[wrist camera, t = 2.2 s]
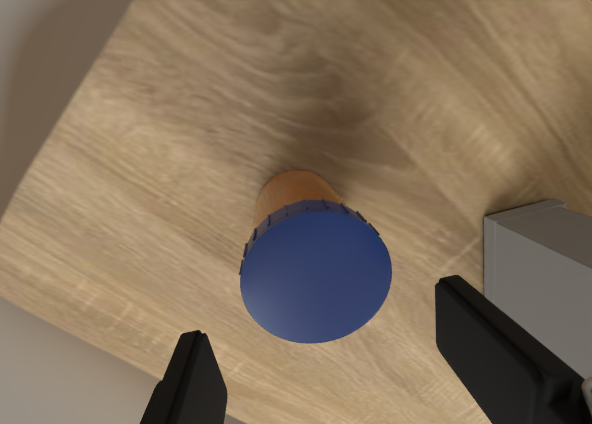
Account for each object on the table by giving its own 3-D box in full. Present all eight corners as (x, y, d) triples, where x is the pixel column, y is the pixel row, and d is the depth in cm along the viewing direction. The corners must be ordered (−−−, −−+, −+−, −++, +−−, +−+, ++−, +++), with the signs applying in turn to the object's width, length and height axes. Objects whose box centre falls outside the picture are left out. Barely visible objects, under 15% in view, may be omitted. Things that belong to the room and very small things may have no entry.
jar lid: (237, 200, 12) (232, 213, 11) (385, 195, 13) (402, 207, 11) (247, 324, 15) (244, 349, 13) (373, 315, 15) (385, 339, 14)
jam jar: (253, 170, 20) (240, 215, 11) (339, 168, 21) (391, 209, 12) (257, 249, 22) (249, 339, 13) (335, 245, 23) (377, 330, 14)
